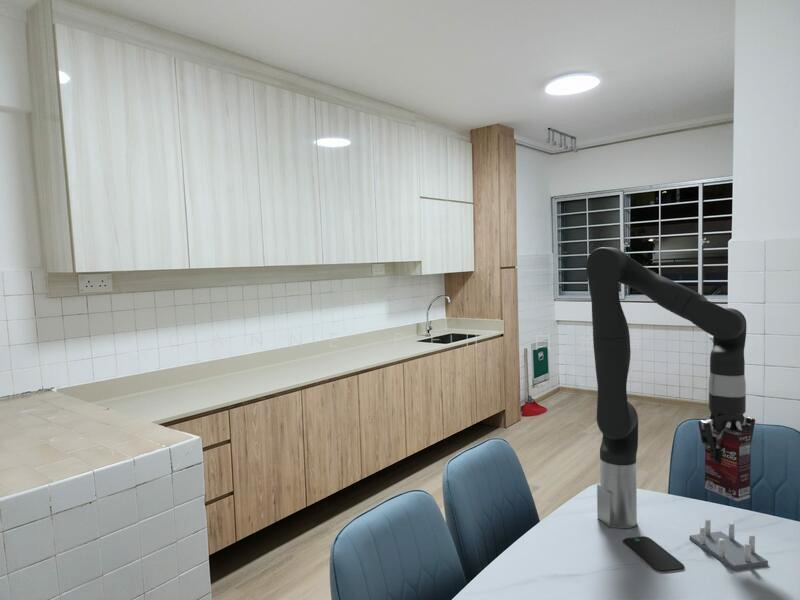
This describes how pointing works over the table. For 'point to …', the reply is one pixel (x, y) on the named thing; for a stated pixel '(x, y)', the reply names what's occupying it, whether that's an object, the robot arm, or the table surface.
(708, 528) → the grey peg holder
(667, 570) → the smartphone
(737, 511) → the table surface
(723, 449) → the supplement box
